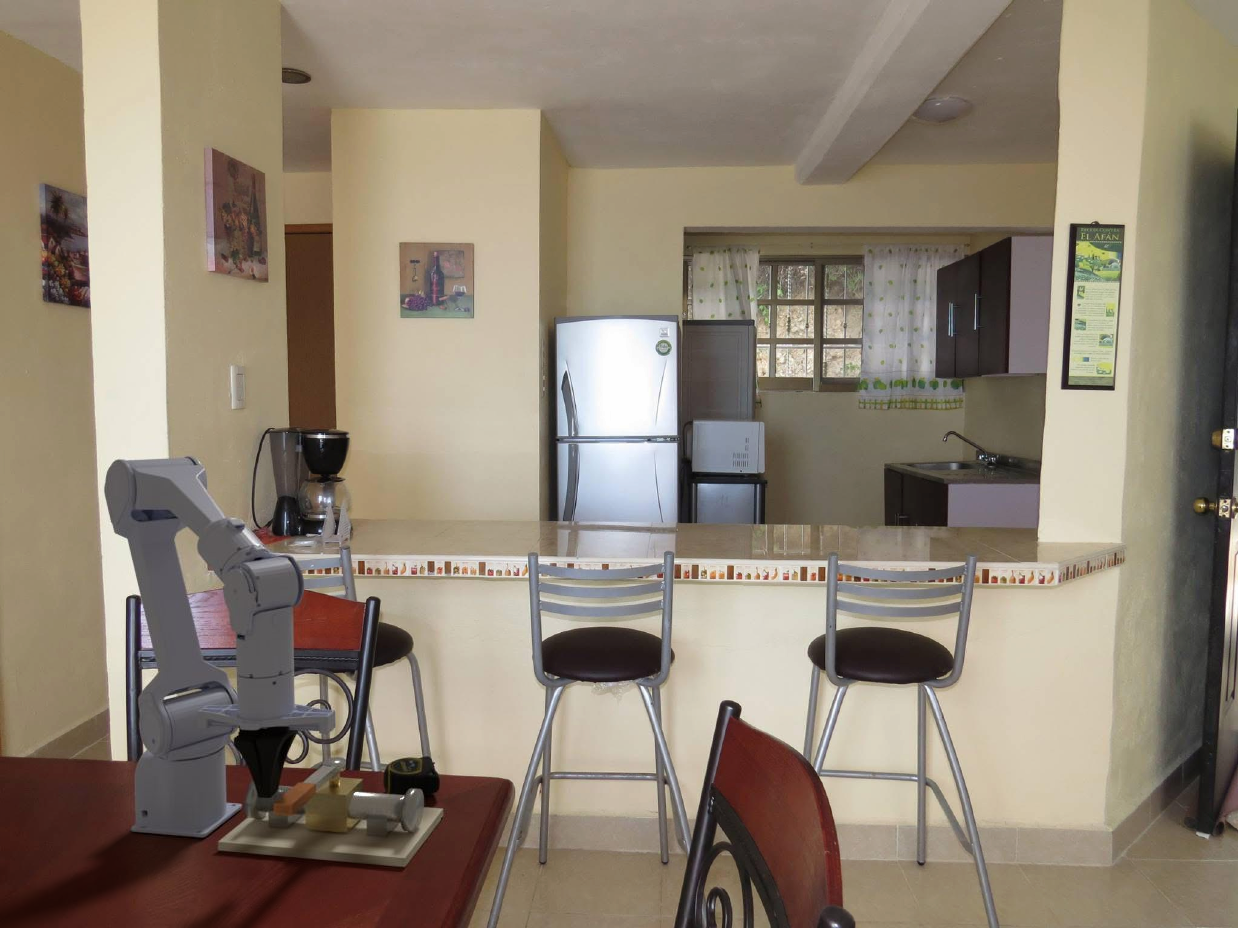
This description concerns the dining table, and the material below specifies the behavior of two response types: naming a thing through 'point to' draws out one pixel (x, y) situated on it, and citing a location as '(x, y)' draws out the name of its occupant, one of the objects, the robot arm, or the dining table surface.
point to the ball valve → (343, 808)
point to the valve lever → (308, 787)
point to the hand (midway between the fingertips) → (268, 793)
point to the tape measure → (411, 776)
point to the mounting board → (331, 841)
